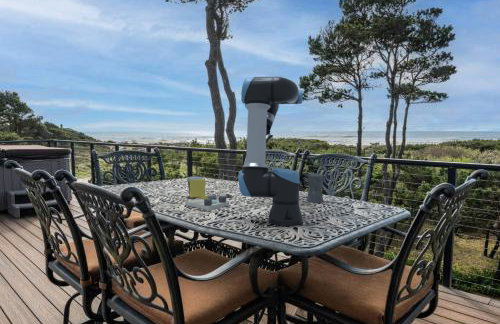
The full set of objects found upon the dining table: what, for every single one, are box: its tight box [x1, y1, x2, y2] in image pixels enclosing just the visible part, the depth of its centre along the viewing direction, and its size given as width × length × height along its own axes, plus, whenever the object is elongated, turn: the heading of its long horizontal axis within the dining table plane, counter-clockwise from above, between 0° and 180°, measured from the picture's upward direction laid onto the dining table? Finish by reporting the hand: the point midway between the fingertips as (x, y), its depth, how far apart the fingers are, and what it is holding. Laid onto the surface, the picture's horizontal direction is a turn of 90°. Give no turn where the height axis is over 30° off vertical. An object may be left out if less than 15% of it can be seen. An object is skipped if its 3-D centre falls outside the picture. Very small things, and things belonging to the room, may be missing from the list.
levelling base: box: [184, 195, 230, 211], centre depth 191 cm, size 18×15×5 cm
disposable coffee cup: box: [186, 176, 203, 199], centre depth 214 cm, size 10×10×12 cm
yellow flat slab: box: [189, 178, 218, 200], centre depth 189 cm, size 14×5×12 cm, turn 117°
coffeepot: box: [299, 169, 328, 204], centre depth 203 cm, size 15×9×18 cm, turn 79°
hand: (253, 154), depth 190 cm, fingers closed
